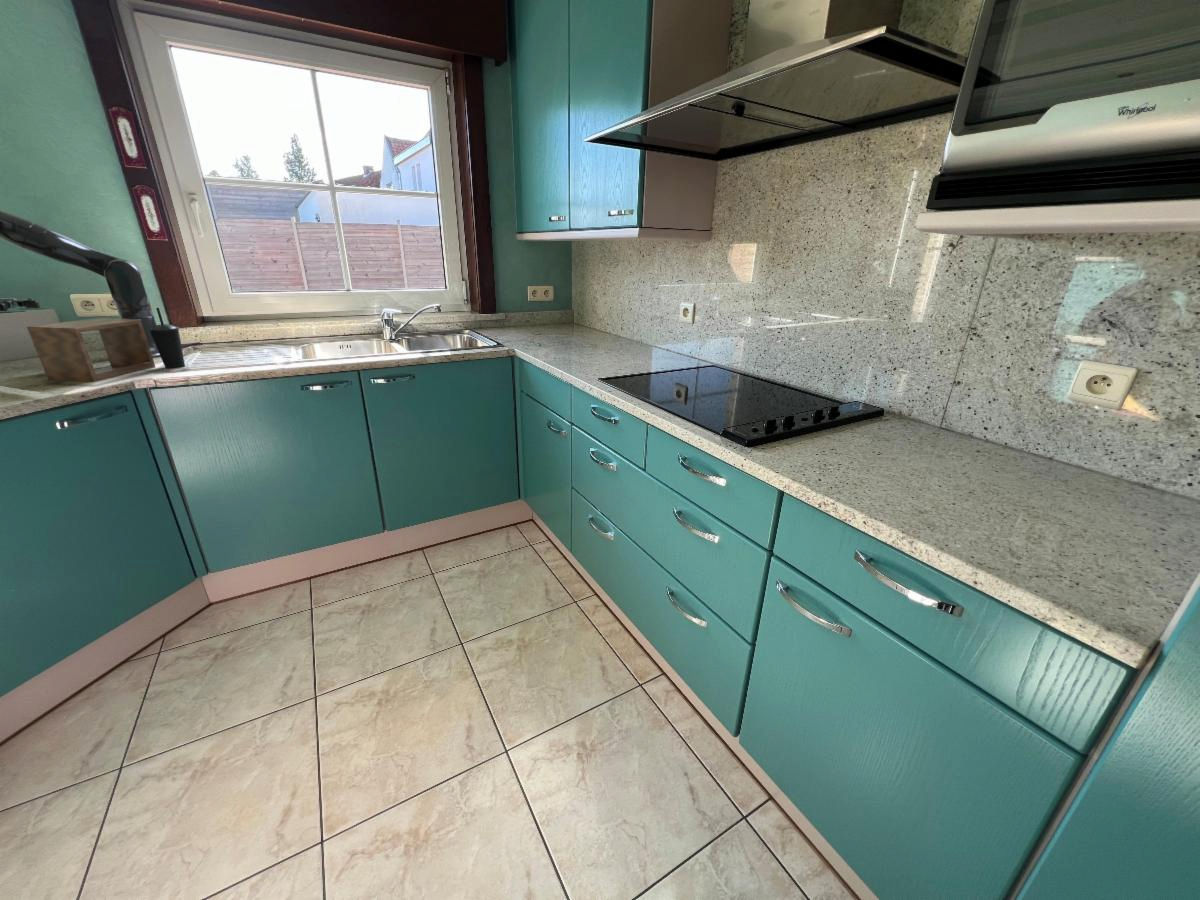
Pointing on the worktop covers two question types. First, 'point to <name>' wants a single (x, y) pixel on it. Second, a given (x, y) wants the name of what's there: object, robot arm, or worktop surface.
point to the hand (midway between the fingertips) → (21, 305)
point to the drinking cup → (168, 344)
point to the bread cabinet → (69, 355)
